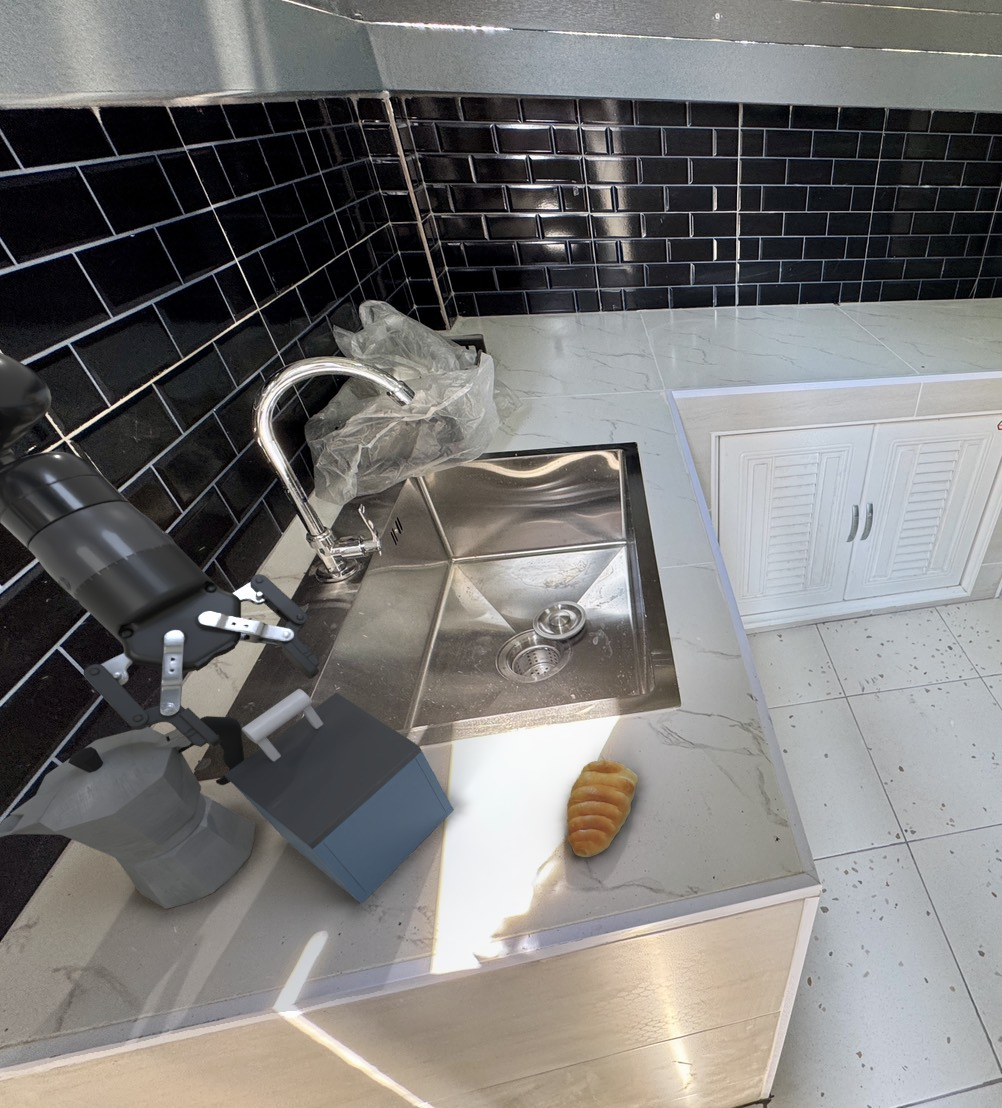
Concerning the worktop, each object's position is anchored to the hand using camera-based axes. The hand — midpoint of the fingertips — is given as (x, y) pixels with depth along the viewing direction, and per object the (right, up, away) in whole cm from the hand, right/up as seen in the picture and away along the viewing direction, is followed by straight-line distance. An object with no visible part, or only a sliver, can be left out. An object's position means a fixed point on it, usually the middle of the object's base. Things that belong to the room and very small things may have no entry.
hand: (268, 708), depth 54 cm
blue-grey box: (+5, -14, +8) cm, 17 cm away
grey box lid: (+4, -6, +1) cm, 7 cm away
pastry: (+28, -13, +10) cm, 32 cm away
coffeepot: (-10, -16, +6) cm, 19 cm away
